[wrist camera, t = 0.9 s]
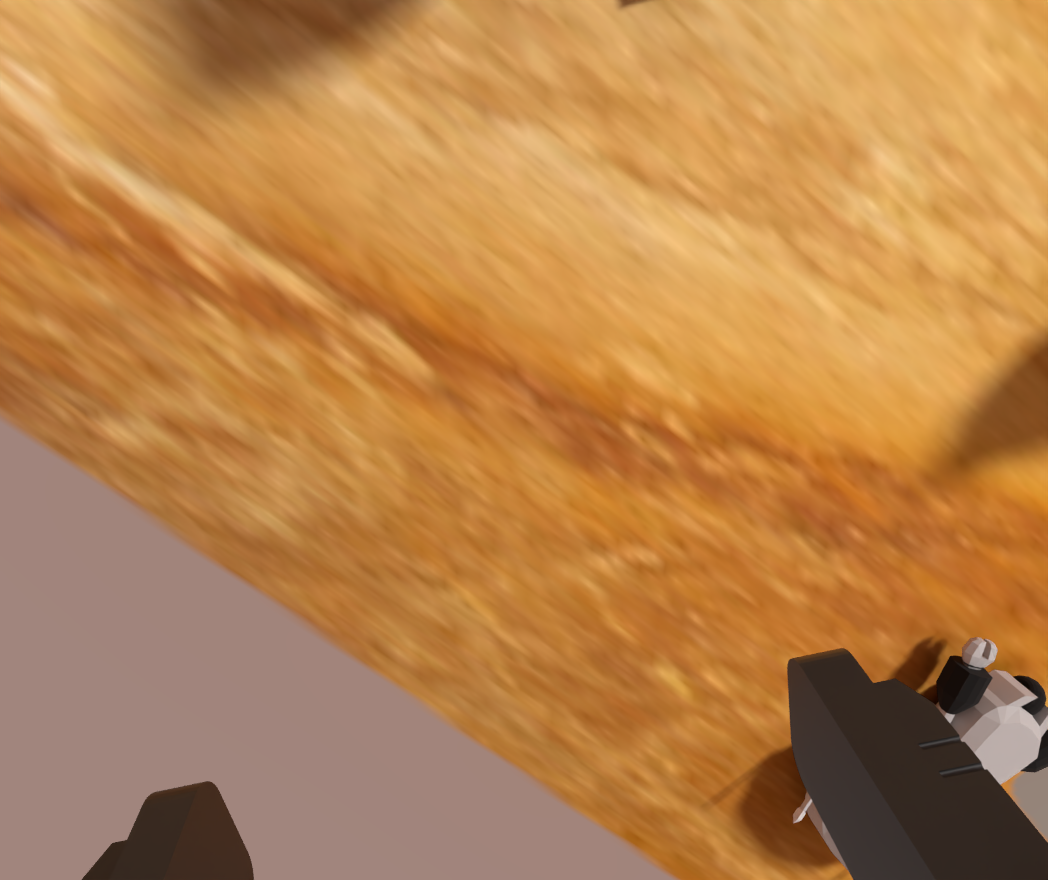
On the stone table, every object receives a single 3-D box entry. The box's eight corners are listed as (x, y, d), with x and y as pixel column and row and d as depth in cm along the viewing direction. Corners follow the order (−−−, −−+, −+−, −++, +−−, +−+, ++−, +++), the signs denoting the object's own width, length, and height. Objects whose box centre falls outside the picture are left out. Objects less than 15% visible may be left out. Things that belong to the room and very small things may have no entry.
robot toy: (945, 597, 43) (754, 775, 45) (1005, 644, 39) (791, 838, 41) (1050, 702, 47) (871, 861, 50) (1115, 755, 43) (917, 925, 45)
